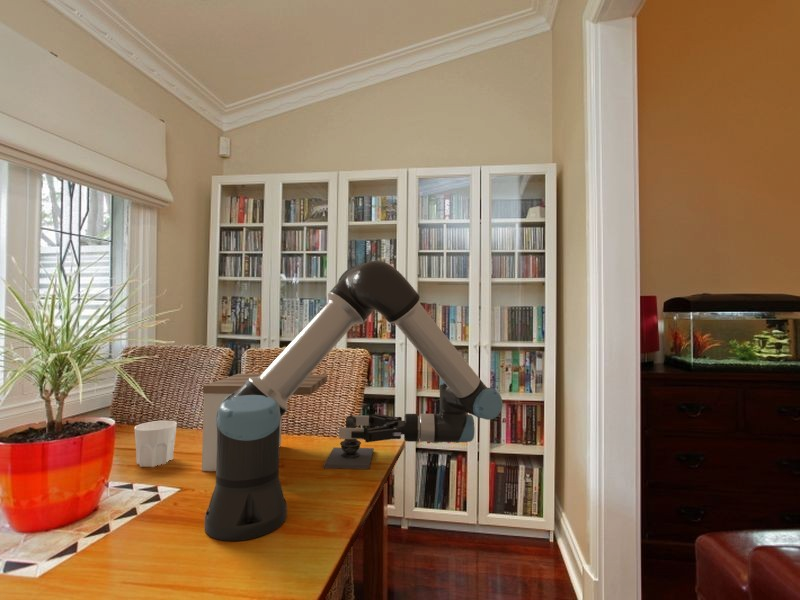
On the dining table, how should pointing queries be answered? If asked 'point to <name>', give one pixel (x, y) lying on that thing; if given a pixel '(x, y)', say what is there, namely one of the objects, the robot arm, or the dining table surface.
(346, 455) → the black chess piece
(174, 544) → the dining table surface
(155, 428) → the cup
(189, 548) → the dining table surface
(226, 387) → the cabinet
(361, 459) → the mat
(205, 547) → the dining table surface
